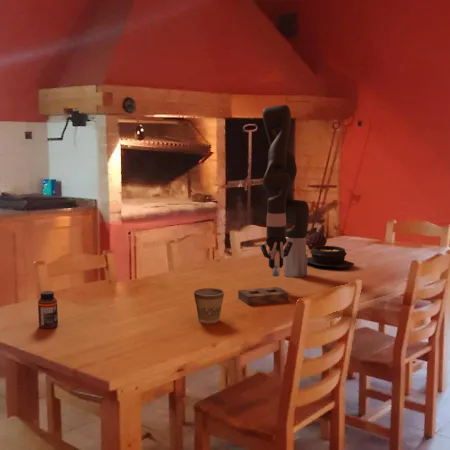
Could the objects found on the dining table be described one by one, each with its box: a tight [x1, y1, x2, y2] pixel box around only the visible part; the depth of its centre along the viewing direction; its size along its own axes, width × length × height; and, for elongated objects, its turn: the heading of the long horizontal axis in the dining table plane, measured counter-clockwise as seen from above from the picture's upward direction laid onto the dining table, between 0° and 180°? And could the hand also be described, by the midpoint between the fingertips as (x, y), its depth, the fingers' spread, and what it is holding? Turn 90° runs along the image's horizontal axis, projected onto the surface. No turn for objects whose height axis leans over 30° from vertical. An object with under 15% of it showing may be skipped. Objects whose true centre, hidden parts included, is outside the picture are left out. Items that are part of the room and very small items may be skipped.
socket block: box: [237, 286, 290, 306], centre depth 237 cm, size 16×10×4 cm, turn 110°
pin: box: [271, 250, 281, 277], centre depth 248 cm, size 3×3×10 cm
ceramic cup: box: [193, 287, 225, 325], centre depth 212 cm, size 13×10×10 cm
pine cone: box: [306, 231, 328, 251], centre depth 335 cm, size 18×10×10 cm, turn 137°
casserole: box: [307, 245, 355, 269], centre depth 298 cm, size 25×19×8 cm
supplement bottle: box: [37, 290, 59, 329], centre depth 204 cm, size 6×6×11 cm
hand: (275, 267), depth 248 cm, fingers closed on pin, 3 cm apart
